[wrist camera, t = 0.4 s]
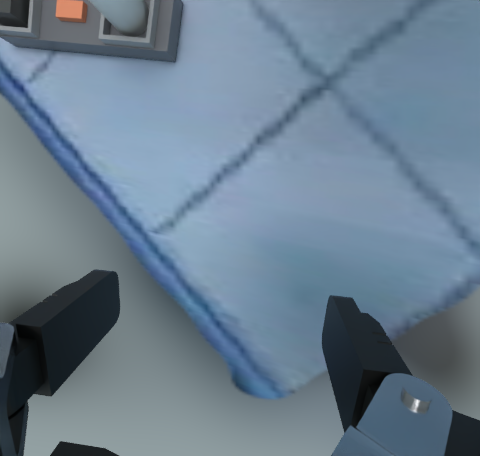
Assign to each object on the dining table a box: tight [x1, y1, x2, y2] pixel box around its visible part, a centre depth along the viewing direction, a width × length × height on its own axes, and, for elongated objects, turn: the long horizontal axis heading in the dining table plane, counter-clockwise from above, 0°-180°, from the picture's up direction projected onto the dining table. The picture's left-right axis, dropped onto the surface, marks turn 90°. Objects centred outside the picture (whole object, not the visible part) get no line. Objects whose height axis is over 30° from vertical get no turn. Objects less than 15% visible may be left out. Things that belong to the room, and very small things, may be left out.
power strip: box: [0, 0, 183, 62], centre depth 35 cm, size 7×24×6 cm, turn 80°
